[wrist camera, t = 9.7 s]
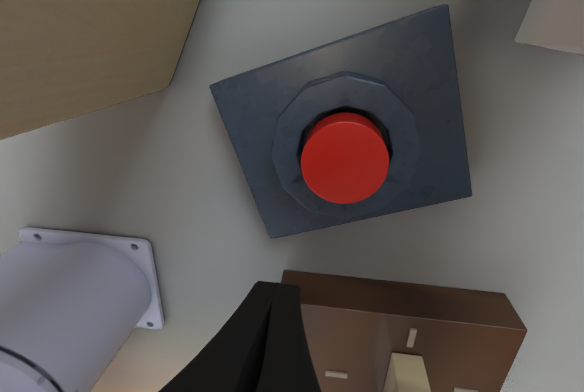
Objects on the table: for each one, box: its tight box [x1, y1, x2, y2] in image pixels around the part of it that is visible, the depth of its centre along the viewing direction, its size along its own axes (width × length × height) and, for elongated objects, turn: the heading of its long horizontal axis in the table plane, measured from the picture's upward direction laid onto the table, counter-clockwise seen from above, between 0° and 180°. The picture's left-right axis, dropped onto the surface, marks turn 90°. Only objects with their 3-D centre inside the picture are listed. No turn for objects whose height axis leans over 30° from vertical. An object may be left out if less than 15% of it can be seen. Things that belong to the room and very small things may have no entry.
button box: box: [210, 4, 472, 239], centre depth 17 cm, size 11×9×4 cm
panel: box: [281, 270, 527, 392], centre depth 23 cm, size 14×11×3 cm
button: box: [301, 112, 389, 204], centre depth 15 cm, size 4×4×2 cm
